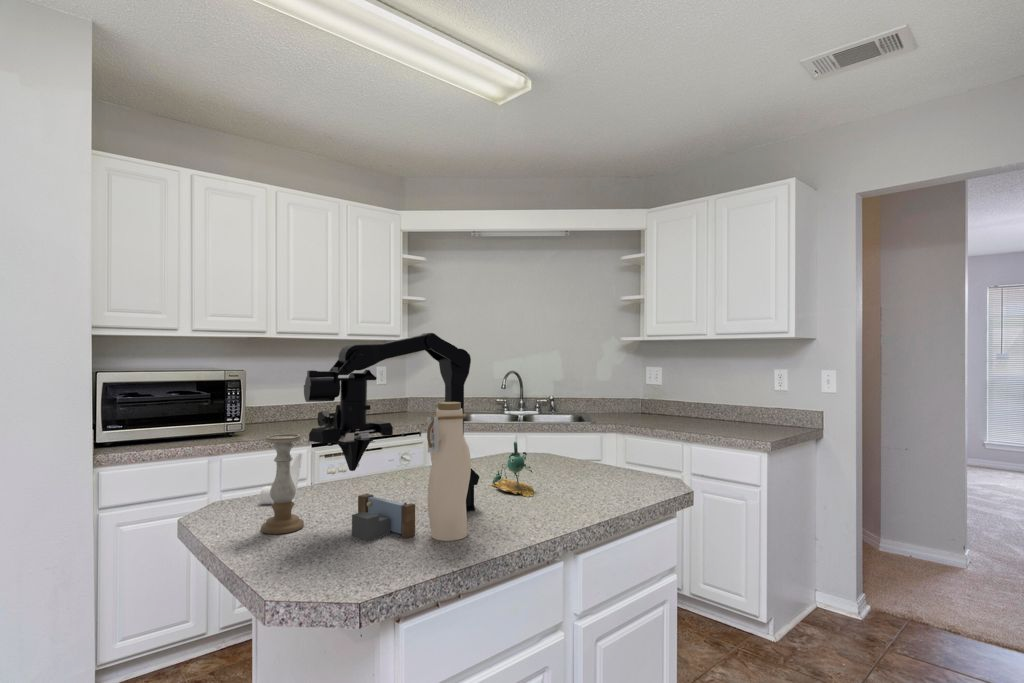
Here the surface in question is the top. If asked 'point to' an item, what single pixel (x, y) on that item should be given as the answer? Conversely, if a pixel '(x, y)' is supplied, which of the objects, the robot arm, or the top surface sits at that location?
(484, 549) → the top surface
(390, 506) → the door
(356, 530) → the dark grey stepped block
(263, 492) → the plastic part
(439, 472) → the water bottle
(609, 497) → the top surface
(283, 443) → the candle holder
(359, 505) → the frame
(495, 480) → the frog figurine
